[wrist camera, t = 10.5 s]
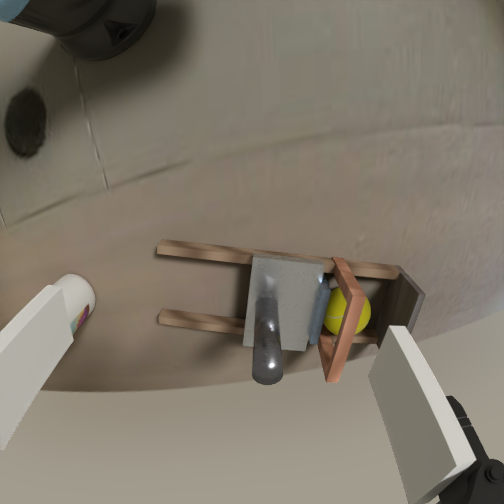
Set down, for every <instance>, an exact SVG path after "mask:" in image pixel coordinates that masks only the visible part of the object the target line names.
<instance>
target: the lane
mask: <svg viewBox="0 0 504 504" xmlns="http://www.w3.org/2000/svg"><path fill="white" fill-rule="evenodd" d="M253 253H262V254H271V255H280V256H289V257H298V258H307V259H316V260H323V262H324V264H325V268H324V272H325V273H333V274H334V276H335V279H336V281H337V283H338V285H339V287H340V289H341V291H342V294H343V296H344V298H345V300H346V302H347V304H346V308H345V312H344V315H343V319H342V322H341V326H340V329H339V333H338V336H337V335H335V334H333V333H332V332H330V331H329V330H328V329H327V328H326V326H325V325H322V329H321V333H320V336H319V340H318V349H319V353H320V357H321V362H322V366H323V371H324V375H325V379H326V382H338V380H339V378H340V375H341V372H342V370H343V367H344V364H345V362H346V359H347V356H348V353H349V350H350V347H351V344H352V343H367V344H377V346H378V348H379V349H380V347H381V344H382V342H383V340H384V337H385V335H386V332H387V330H388V327H389V326H405V327H406V328H407V330H408V332H409V333H410V335H411V332H412V330H413V327H414V325H415V322H416V320H417V317H418V314H419V312H420V309H421V306H422V303H423V301H424V298H425V295H426V294H425V293H424V292H423V291H422V290H421V289H420V288H419V286H418V285H417V284H416V283H415V282H414V281H413V280H412V279H411V278H410V277H409V275H408V274H407V273H406V272H405V271H404V270H403V269H402V268H401V267H400V266H394V265H386V264H377V263H368V262H359V261H351V260H344V259H343V258H336V257H332V258H324V257H315V256H307V255H298V254H289V253H280V252H271V251H262V250H253V249H244V248H235V247H226V246H218V245H209V244H200V243H191V242H181V241H172V240H163V239H162V240H161V241H160V242H159V244H158V245H157V254H164V255H173V256H181V257H190V258H198V259H207V260H216V261H224V262H233V263H242V264H251V265H252V262H253ZM354 276H364V277H374V278H384V279H390V282H389V285H388V289H387V292H386V295H385V298H384V302H383V305H382V308H381V311H380V314H379V317H378V320H377V323H376V326H375V329H363V330H361V331H360V332H359V333H357V334H355V332H356V329H357V326H358V323H359V320H360V316H361V313H362V310H363V306H364V303H365V300H366V295H365V294H364V292H363V290H362V289H361V287H360V285H359V283H358V282H357V280H356V278H355V277H354ZM245 321H246V319H239V318H230V317H222V316H214V315H206V314H198V313H191V312H184V311H177V310H170V309H162V311H161V313H160V315H159V323H160V324H166V325H173V326H179V327H186V328H193V329H200V330H208V331H216V332H224V333H232V334H241V335H244V329H245ZM308 341H309V338H308ZM332 342H335V346H334V347H333V344H332Z"/></svg>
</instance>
